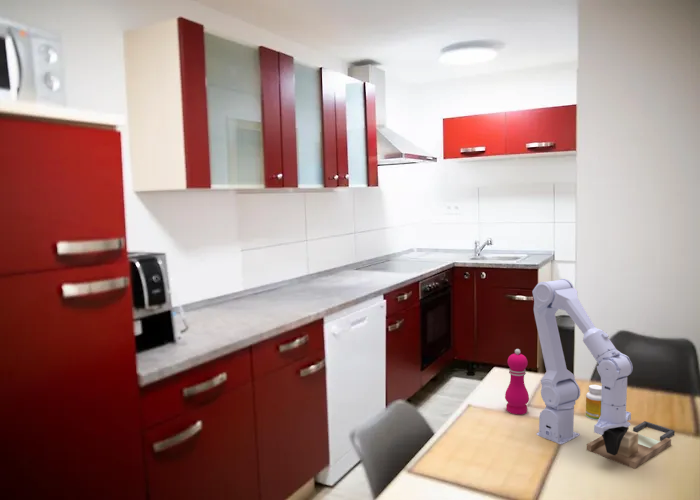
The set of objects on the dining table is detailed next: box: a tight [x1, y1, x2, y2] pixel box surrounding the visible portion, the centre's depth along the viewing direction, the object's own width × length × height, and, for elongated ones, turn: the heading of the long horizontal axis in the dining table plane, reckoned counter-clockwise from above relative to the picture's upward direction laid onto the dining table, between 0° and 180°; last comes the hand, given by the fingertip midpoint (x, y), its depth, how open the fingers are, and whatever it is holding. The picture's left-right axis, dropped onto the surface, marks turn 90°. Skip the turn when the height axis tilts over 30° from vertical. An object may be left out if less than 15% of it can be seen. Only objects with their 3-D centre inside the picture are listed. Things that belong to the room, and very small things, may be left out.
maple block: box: [618, 429, 639, 457], centre depth 140 cm, size 5×5×5 cm
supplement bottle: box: [585, 384, 602, 421], centre depth 161 cm, size 5×5×10 cm
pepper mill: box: [504, 348, 530, 415], centre depth 167 cm, size 7×7×20 cm
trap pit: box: [632, 421, 675, 441], centre depth 150 cm, size 7×8×2 cm
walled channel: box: [586, 426, 672, 470], centre depth 142 cm, size 20×12×2 cm, turn 126°
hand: (611, 453), depth 136 cm, fingers closed
